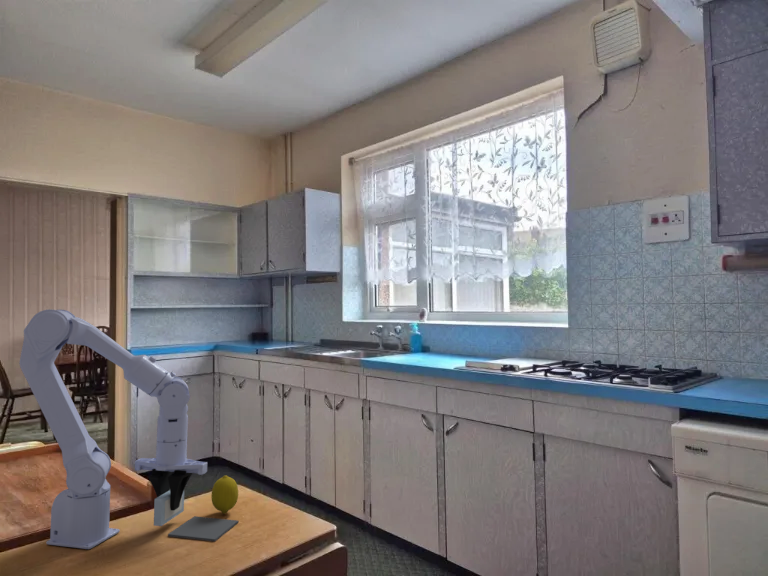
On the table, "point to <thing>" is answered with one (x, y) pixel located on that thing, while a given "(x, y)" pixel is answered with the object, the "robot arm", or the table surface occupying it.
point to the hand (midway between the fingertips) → (169, 508)
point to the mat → (203, 528)
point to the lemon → (224, 494)
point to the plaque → (165, 509)
